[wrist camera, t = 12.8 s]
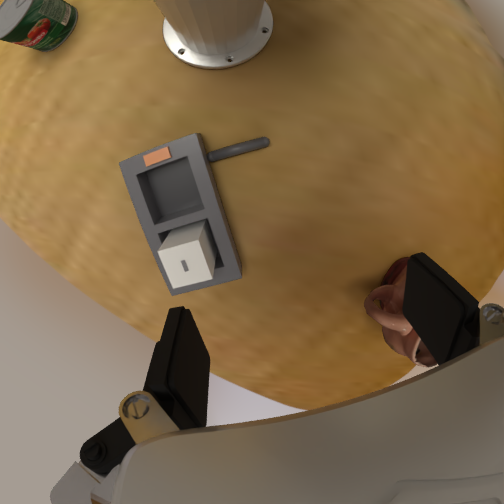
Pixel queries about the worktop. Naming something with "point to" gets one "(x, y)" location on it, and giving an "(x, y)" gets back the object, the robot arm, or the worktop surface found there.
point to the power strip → (184, 199)
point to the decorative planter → (397, 316)
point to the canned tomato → (37, 23)
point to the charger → (188, 254)
